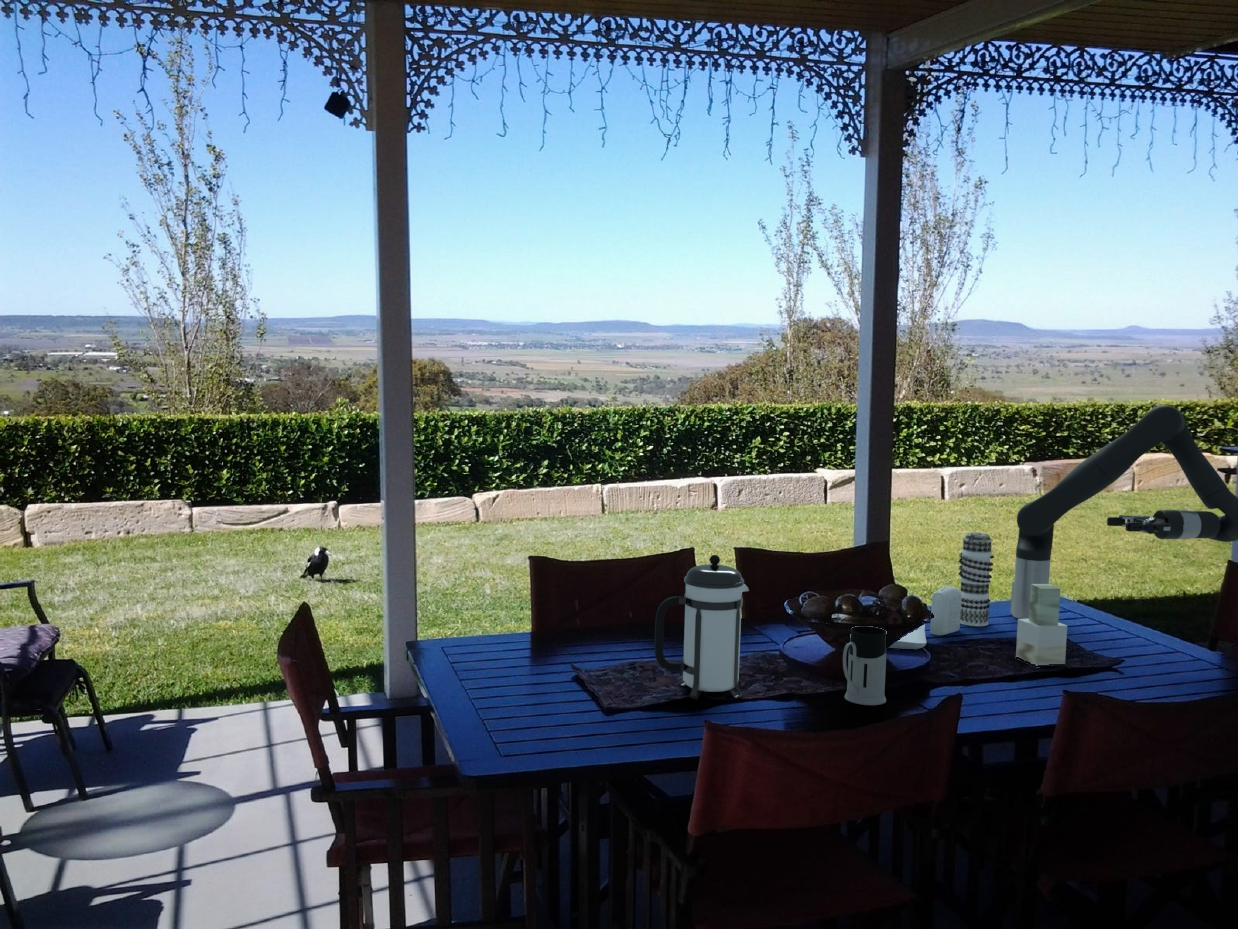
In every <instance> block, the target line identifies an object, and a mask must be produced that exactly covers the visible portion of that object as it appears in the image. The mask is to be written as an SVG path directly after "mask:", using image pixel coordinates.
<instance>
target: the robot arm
mask: <svg viewBox="0 0 1238 929" xmlns="http://www.w3.org/2000/svg"><path fill="white" fill-rule="evenodd" d="M1160 444H1162V445H1164V447H1165V448H1167V450H1168V451H1169V452H1170V453H1171V455H1172V456H1173V457H1174V458H1175V460H1176V462H1177V463H1178V465H1179V466H1180V468H1181V470H1182V471H1183V473H1184V476H1185V478H1187V479H1186V480H1187V481H1188V483H1189V484H1190V486H1191V487H1192V489H1193V490H1194V492H1195V493H1196V495H1197V496H1198V498H1199V499H1200V501H1201V502H1202V503H1203V505H1204V506H1205V508H1206V509H1208V510H1216V509H1218V510H1219V511H1220V512H1222V513H1223V514H1224V515H1220V516H1218V515H1217V514H1216V513H1215V512H1212V511H1207V510H1205V511H1204V510H1199V511H1198V510H1187V509H1158V510H1156V511H1155V512H1154V514H1153V515H1152V517H1151V516H1150V515H1140V514H1138V515H1122V514H1120V515H1118V516H1115V517H1114V516H1109V517H1107V518H1106V519H1107V520H1106V526H1109V527H1125V531H1126V532H1141V533H1143V534H1149V535H1152V534H1153V535H1154V536H1155V537H1156V538H1157V539H1158V540H1188V539H1209V540H1213V541H1217V542H1224V543H1229V542H1230V543H1231V542H1232V543H1233V542H1236V541H1238V497H1237V496H1236V494H1234V493H1233V492H1232V491H1231V490H1230V488H1229V487H1228V486H1227V484H1226V483H1225V481H1224V479H1222V477H1221V476H1220V474H1219V472H1218V471H1216V468H1214V466H1213V465H1212V464H1211V463H1210V462H1209V460H1208V459H1207V458H1206V456H1205V454H1203V452H1202V450H1201V449H1200V448H1199V446H1198V445H1197V443H1196V441H1195V439H1194V438H1193V436H1192V434H1191V432H1190V430H1189V427H1188V426H1187V423H1186V421H1185V416H1184V414H1183V413H1182V412H1181V411H1180V410H1179V409H1178V408H1176V407H1174V406H1171V405H1169V404H1168V405H1167V404H1161V405H1157V406H1154V407H1153V408H1151V409H1150V410H1149V411H1147V413H1146V414H1144V415H1143V416H1142V418H1140V419H1139V420H1138V421H1137V422H1136V423H1135V424H1133V426H1132V427H1130V428H1129V430H1127V431H1126V432H1124V433H1123V434H1122V435H1120V436H1119V437H1117V438H1116V439H1114V440H1111V441H1110V442H1109V443H1107V444H1106V445H1105V446H1103V447H1101V448H1100V449H1098V450H1097V451H1096V452H1094V453H1093V454H1091V455H1090V456H1088V457H1087V458H1085V459H1084V460H1083V461H1082V462H1081V463H1079V464H1078V465H1077V466H1076V467H1074V468H1073V469H1072V470H1071V471H1070V472H1069V473H1068V474H1067V475H1065V477H1063V478H1062V479H1061V481H1059V483H1057V485H1055V487H1053V488H1052V489H1050V490H1049V491H1048V492H1046V493H1044V494H1043V495H1041V496H1040V497H1039V498H1036V499H1035V500H1033V501H1029V502H1027V503H1026V504H1025V505H1023V506H1022V507H1021V508H1020V509H1019V511H1018V512H1017V515H1016V524H1017V525H1016V526H1017V527H1018V537H1017V538H1018V539H1017V544H1016V548H1015V549H1016V551H1015V564H1014V566H1015V568H1014V581H1012V583H1011V595H1010V596H1011V600H1010V601H1011V602H1010V610H1009V611H1010V615H1012V616H1011V617H1013V618H1016V619H1029V609H1030V594H1031V584H1050V571H1051V557H1052V549H1053V542H1054V540H1053V539H1054V528H1055V523H1057V521H1059V520H1060V519H1061V518H1062V517H1063V516H1064V515H1065V514H1067V513H1068V512H1069V511H1071V510H1073V509H1074V508H1075V507H1077V506H1079V505H1080V504H1082V503H1084V502H1086V501H1087V500H1089V499H1090V498H1092V497H1095V496H1096V495H1098V494H1100V493H1101V492H1102V491H1103V490H1105V489H1107V488H1108V487H1109V486H1110V485H1112V484H1113V483H1114V482H1115V481H1117V480H1118V479H1119V478H1121V476H1123V475H1124V474H1125V473H1126V472H1127V471H1128V470H1129V469H1131V467H1132V466H1133V465H1134V464H1135V463H1136V462H1137V461H1138V460H1139V458H1141V457H1142V456H1143V455H1144V454H1146V453H1147V452H1149V451H1150V450H1152V449H1154V448H1156V447H1158V445H1160Z"/></svg>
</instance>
